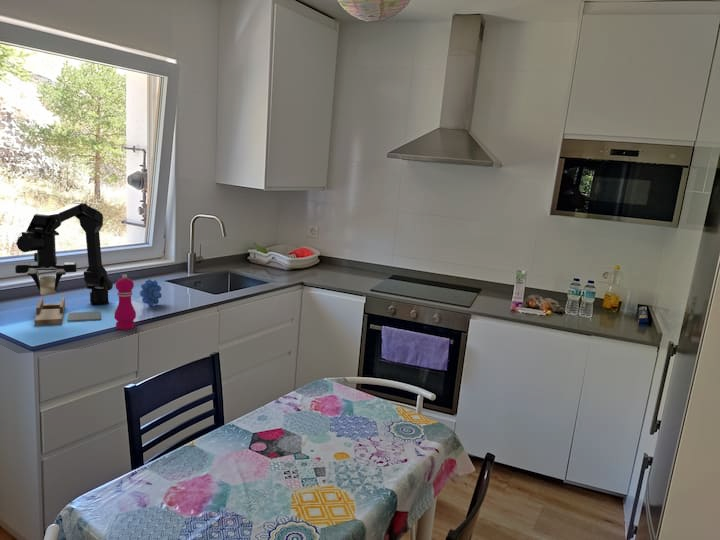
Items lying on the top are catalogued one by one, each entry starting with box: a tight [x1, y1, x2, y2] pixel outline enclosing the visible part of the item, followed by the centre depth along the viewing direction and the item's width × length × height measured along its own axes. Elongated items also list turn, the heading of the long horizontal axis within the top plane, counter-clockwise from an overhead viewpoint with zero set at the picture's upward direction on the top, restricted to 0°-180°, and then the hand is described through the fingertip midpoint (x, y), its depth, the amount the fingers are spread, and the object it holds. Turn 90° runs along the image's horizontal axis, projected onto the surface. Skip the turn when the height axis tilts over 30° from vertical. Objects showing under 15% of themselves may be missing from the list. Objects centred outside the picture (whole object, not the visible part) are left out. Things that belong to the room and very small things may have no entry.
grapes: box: [139, 279, 163, 307], centre depth 219 cm, size 12×7×12 cm, turn 158°
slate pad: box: [67, 310, 102, 323], centre depth 199 cm, size 11×11×1 cm
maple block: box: [39, 275, 57, 296], centre depth 189 cm, size 4×4×6 cm
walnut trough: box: [33, 296, 66, 326], centre depth 197 cm, size 8×24×4 cm, turn 27°
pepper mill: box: [113, 273, 137, 330], centre depth 188 cm, size 7×7×20 cm
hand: (47, 290), depth 188 cm, fingers closed on maple block, 4 cm apart
